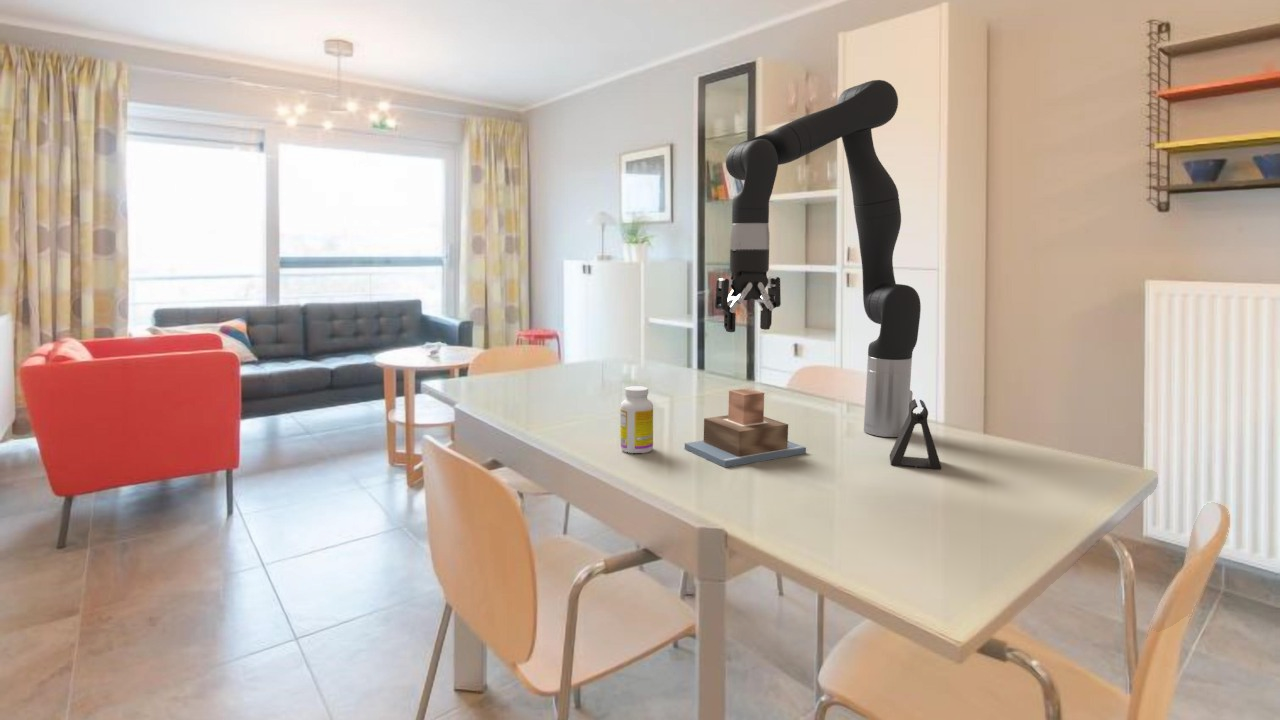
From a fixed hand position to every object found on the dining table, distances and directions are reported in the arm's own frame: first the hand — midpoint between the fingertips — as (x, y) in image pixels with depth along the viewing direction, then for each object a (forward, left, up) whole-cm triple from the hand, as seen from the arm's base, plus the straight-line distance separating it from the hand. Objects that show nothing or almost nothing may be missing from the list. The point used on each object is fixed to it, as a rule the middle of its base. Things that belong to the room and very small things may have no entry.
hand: (747, 330), depth 140 cm
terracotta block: (0, 0, -18) cm, 18 cm away
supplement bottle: (+19, -11, -25) cm, 33 cm away
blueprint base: (0, 0, -25) cm, 25 cm away
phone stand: (-24, +22, -25) cm, 41 cm away
